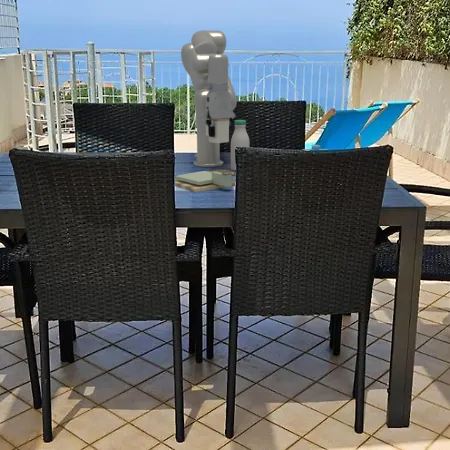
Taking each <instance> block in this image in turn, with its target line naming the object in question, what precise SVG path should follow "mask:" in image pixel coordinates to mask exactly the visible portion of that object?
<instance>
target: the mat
mask: <svg viewBox="0 0 450 450" xmlns="http://www.w3.org/2000/svg"><path fill="white" fill-rule="evenodd" d="M207 171H208V172H220V173H225V172H229V173H232V176H234V175H235V171H234V170H231V169H230V170H229V169H208V170H207Z"/></svg>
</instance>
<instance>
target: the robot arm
mask: <svg viewBox="0 0 450 450" xmlns="http://www.w3.org/2000/svg"><path fill="white" fill-rule="evenodd" d="M190 41H191V42H188V43H185V44H184V45H182V47H181V50H180V57H181V58H180V59H181V62H182V65H183V66H182V67H184V69H185V71H186V73H187V74H188V75H189V77H190V80H191V85H192V88H193V90H194V92H195V93H194V95H193V102H194V108H195V117H196V153H195V154H194V155H193V156H194V158H196V160H194V161H193V165H194V166H196V167H200V168H201V167H202V168H213V167H214V168H215V167H220V166H223V165H224V161H223V160H221V159H220V158H221V157H220V154H221V153H220V152H221V151H220V148H221V147H220V146H221V145H220V144H221V143H213V142H209V137H215V127H213V125H214V122H215V119H226V118H229V126H230V125H231V122H233V120H234V119H235V117H236V113H235V112H234V110H235V108H236V107H237V104H238V103H237V95H236V92H235V88H234V87H233V86H234V85H233V84H232V80H231V79H230V76H229V65H230V64H229V56H227V54H224V53H225V51H226V47H227V37H226V35H225V33H224V32H223V31H222V30H198V31H195V32H194V33H193V34H192V37H191V40H190ZM208 118H209V119H208ZM206 125H207V126H208V134H209V136H207V135H206Z"/></svg>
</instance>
